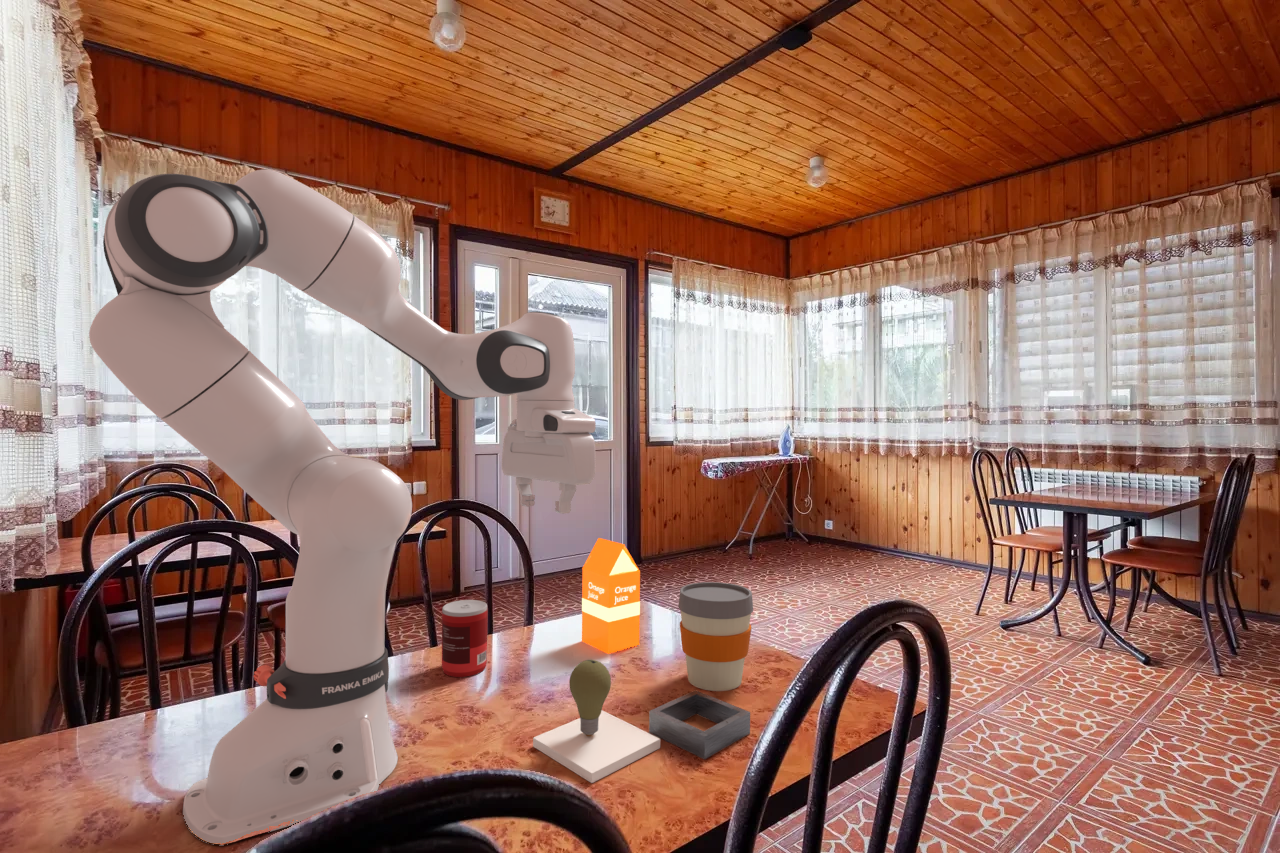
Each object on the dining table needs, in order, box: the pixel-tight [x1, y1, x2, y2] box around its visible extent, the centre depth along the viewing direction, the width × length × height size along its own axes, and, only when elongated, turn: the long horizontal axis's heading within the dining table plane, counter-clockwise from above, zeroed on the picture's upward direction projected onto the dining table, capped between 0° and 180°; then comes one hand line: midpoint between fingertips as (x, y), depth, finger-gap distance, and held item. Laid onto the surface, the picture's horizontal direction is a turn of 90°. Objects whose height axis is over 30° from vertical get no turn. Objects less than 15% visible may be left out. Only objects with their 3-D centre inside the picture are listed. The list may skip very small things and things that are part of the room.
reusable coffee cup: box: [678, 581, 754, 692], centre depth 109 cm, size 13×13×15 cm
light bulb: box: [569, 659, 612, 736], centre depth 87 cm, size 6×6×10 cm
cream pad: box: [532, 709, 661, 784], centre depth 86 cm, size 12×12×1 cm
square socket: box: [648, 689, 751, 760], centre depth 90 cm, size 10×10×3 cm
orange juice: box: [581, 537, 641, 655], centre depth 126 cm, size 8×9×20 cm
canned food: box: [441, 599, 489, 678], centre depth 112 cm, size 8×8×11 cm
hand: (544, 509), depth 100 cm, fingers open, 8 cm apart
